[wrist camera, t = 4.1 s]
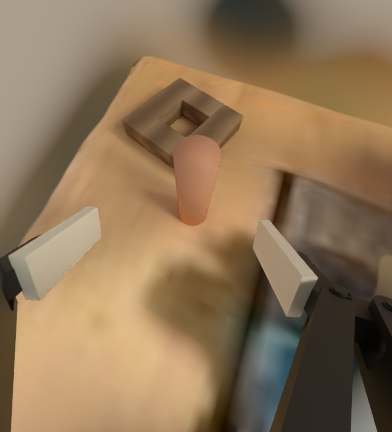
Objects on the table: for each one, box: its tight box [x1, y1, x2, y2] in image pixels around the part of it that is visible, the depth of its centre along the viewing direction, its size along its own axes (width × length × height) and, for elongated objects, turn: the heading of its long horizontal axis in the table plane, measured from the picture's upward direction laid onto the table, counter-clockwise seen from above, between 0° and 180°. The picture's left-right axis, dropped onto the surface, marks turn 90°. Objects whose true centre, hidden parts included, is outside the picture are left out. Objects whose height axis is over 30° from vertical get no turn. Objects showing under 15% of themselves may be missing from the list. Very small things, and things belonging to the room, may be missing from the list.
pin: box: [173, 135, 222, 226], centre depth 21 cm, size 4×4×13 cm
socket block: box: [122, 78, 243, 168], centre depth 31 cm, size 14×14×3 cm
